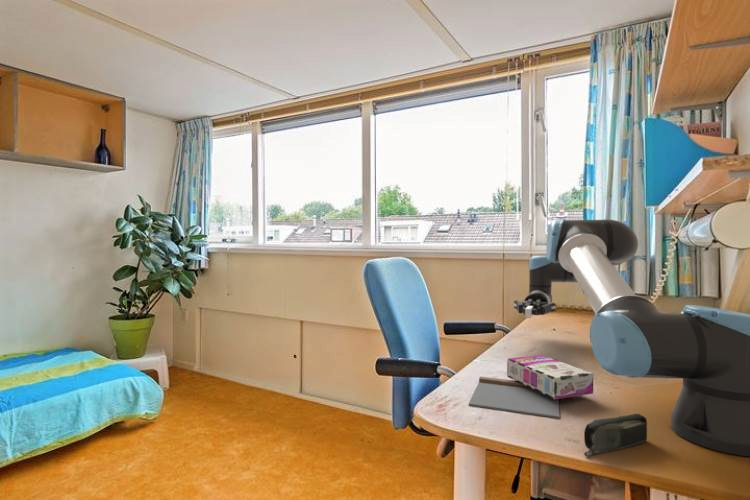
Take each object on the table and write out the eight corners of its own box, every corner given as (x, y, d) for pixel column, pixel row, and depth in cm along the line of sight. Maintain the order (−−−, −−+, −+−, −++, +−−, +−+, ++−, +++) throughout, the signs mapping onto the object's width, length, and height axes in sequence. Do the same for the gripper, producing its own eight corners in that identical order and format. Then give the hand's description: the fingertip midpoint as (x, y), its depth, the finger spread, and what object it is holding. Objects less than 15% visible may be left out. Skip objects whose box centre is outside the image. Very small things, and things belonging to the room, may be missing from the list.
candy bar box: (506, 378, 106) (554, 400, 90) (506, 358, 106) (554, 377, 90) (542, 373, 110) (594, 394, 94) (542, 354, 110) (594, 372, 94)
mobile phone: (635, 410, 77) (575, 422, 71) (651, 416, 75) (591, 429, 69) (634, 437, 77) (574, 451, 71) (650, 444, 75) (590, 459, 69)
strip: (557, 393, 99) (557, 387, 99) (479, 383, 105) (479, 378, 105) (557, 390, 100) (557, 385, 100) (480, 381, 107) (480, 376, 107)
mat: (559, 418, 84) (559, 416, 84) (468, 405, 91) (468, 403, 91) (557, 393, 98) (557, 391, 98) (479, 383, 105) (479, 381, 105)
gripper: (557, 315, 142) (551, 328, 121) (517, 312, 147) (504, 324, 126) (557, 292, 141) (551, 302, 120) (517, 290, 147) (504, 299, 126)
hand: (527, 313), depth 123 cm, fingers closed
